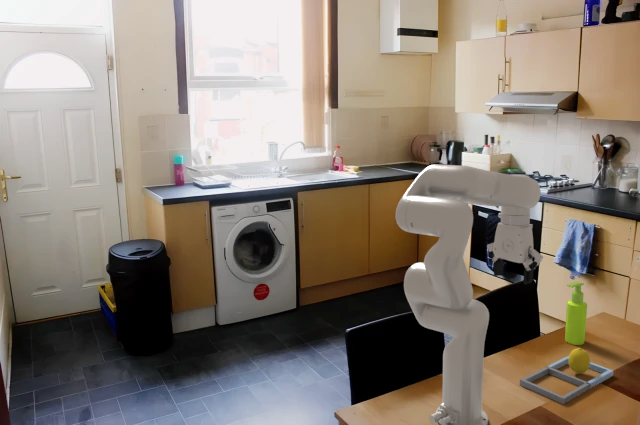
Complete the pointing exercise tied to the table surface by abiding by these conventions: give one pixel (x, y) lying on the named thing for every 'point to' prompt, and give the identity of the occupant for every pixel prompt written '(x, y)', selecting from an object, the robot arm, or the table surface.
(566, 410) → the table surface
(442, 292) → the robot arm
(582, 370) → the lemon
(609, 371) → the grey divided frame
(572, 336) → the soap dispenser
